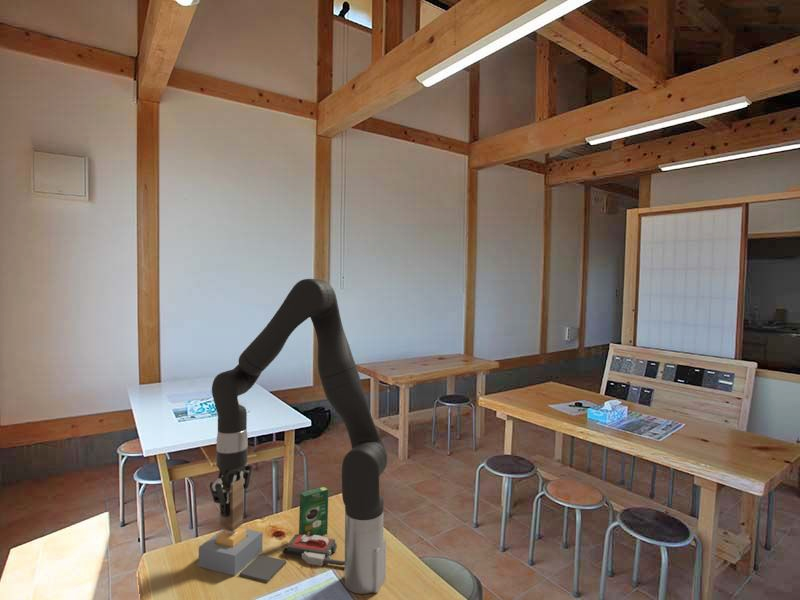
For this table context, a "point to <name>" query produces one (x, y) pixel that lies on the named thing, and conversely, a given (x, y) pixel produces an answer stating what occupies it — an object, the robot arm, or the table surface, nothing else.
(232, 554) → the box
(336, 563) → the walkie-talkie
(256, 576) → the mat
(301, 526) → the coffee box
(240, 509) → the tall cardboard-brown rectangular prism
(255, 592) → the table surface
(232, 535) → the button
